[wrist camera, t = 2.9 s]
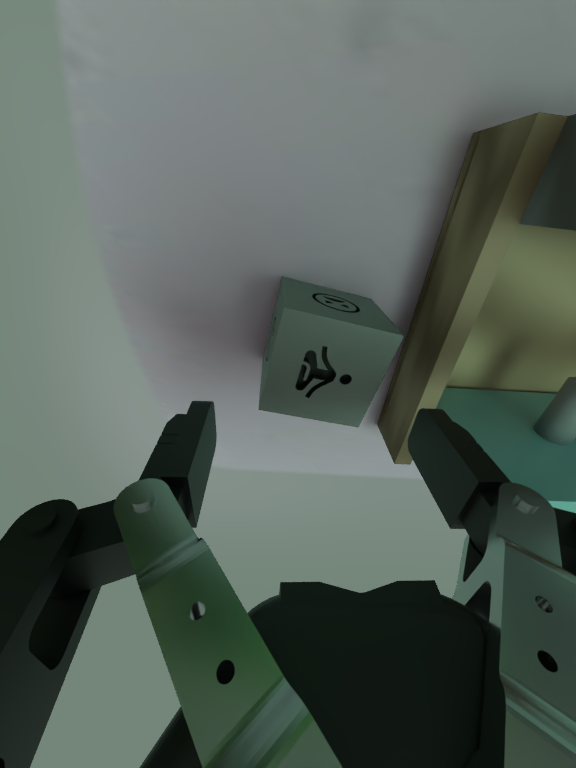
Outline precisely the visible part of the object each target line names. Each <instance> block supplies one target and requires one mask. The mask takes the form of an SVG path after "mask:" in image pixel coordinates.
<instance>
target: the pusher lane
mask: <svg viewBox="0 0 576 768" xmlns="http://www.w3.org/2000/svg"><path fill="white" fill-rule="evenodd" d="M569 377H576V114H575V115H571V116H561V115H554V114H546V113H536V114H532V115H529V116H526V117H523V118H520V119H517V120H514V121H510V122H507V123H504V124H501V125H498V126H495V127H492V128H488V129H485V130H482V131H479V132H476V133H473V136H472V139H471V142H470V145H469V149H468V152H467V155H466V158H465V161H464V164H463V167H462V170H461V173H460V176H459V179H458V182H457V185H456V188H455V191H454V194H453V197H452V200H451V203H450V206H449V209H448V212H447V215H446V218H445V221H444V224H443V227H442V230H441V234H440V237H439V240H438V243H437V246H436V249H435V252H434V255H433V258H432V261H431V264H430V267H429V270H428V273H427V276H426V279H425V282H424V285H423V288H422V291H421V294H420V297H419V300H418V303H417V306H416V309H415V312H414V315H413V319H412V322H411V325H410V328H409V331H408V334H407V337H406V340H405V343H404V346H403V349H402V352H401V355H400V358H399V361H398V364H397V367H396V370H395V373H394V376H393V379H392V382H391V385H390V388H389V391H388V394H387V397H386V400H385V404H384V407H383V410H382V413H381V416H380V419H379V422H378V427H379V430H380V432H381V434H382V436H383V439H384V441H385V443H386V446H387V448H388V450H389V452H390V455H391V457H392V459H393V462H394V464H411V462H412V460H413V459H412V457H411V455H410V453H409V450H408V437H409V434H410V432H411V429H412V426H413V424H414V421H415V418H416V416H417V413H418V411H419V410H420V409H422V408H430V409H436V407H437V404H438V402H439V400H440V398H441V396H442V393H443V391H444V389H445V388H460V389H478V390H496V391H514V392H532V393H550V394H557V393H558V391H559V390H560V388H561V387H562V386H563V384H564V383H565V381H566V380H567V379H568V378H569Z"/></svg>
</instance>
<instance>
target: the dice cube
mask: <svg viewBox="0 0 576 768" xmlns="http://www.w3.org/2000/svg"><path fill="white" fill-rule="evenodd" d="M403 338H404V335H403V334H402V333H401V332H400V331H399V329H398V328H397V327H396V326H395V325H394V324H393V323H392V322H391V321H390V319H389V318H388V317H387V316H386V315H385V314H384V313H383V312H382V311H381V309H380V308H379V307H378V306H377V305H376V304H375V303H374V302H373V301H372V299H369V298H365V297H361V296H357V295H353V294H349V293H345V292H341V291H337V290H334V289H330V288H326V287H322V286H318V285H314V284H310V283H306V282H302V281H298V280H294V279H290V278H287V277H283V276H282V279H281V284H280V288H279V292H278V297H277V301H276V305H275V310H274V314H273V318H272V322H271V327H270V331H269V335H268V340H267V344H266V348H265V353H264V357H263V364H262V376H261V387H260V399H259V410H263V411H269V412H275V413H280V414H286V415H292V416H297V417H303V418H309V419H314V420H320V421H325V422H331V423H337V424H342V425H348V426H354V427H359V425H360V423H361V421H362V419H363V417H364V415H365V413H366V411H367V409H368V407H369V405H370V403H371V401H372V399H373V397H374V395H375V393H376V391H377V389H378V387H379V385H380V383H381V381H382V379H383V377H384V375H385V373H386V371H387V369H388V367H389V365H390V363H391V361H392V359H393V357H394V355H395V353H396V351H397V349H398V347H399V345H400V343H401V342H402V340H403Z"/></svg>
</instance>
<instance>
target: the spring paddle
mask: <svg viewBox="0 0 576 768" xmlns="http://www.w3.org/2000/svg"><path fill="white" fill-rule="evenodd" d="M436 409H443V410H444V411H445V412H446V414H447V415H448V416H449V417H450V418H451V420H452V421H453V422H456V423H457V424H459V425H460V426H462V427H463V428H464V429H466V430H467V431H468V432H469V433H470V434H471V435H472V436H473V438H474V439H475V440H476V443H479V445H480V446H481V447H482V448H483V449H484V452H486V453H487V454H488V455H489V456H490V458H491V459H492V460H493V461H494V462H495V463H496V465H497V466H498V467H499V468H500V469H501V471H502V472H503V473H504V474H505V475H506V476H507V478H508V479H509V480H510V481H511V482H512V483H518V484H521V485H524V486H526V487H529V488H531V489H532V490H534V491H536V492H537V493H539V494H540V495H541V496H543V497H544V498H545V499H546V500H547V501H548V502H549V503H550V504H551V506H552V507H554V508H558V509H562V510H566V511H569V512H573V513H576V377H569V378H568V379H567V380H566V381H565V383H564V384H563V386H562V387H561V388H560V390H559V391H558V393H557V394H550V393H532V392H514V391H496V390H478V389H460V388H445V389H444V391H443V393H442V396H441V398H440V400H439V402H438V404H437V407H436Z"/></svg>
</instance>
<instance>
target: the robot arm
mask: <svg viewBox="0 0 576 768" xmlns="http://www.w3.org/2000/svg"><path fill="white" fill-rule="evenodd" d="M215 447H216V422H215V410H214V403H213V402H212V401H192V402H191V405H190V407H189V410H188V412H187V414H177V415H175V416H174V417H173V418H172V419H171V420H170V421H168V422H167V424H166V426H165V428H164V430H163V432H162V435H161V436H160V438H159V440H158V442H157V445H156V446H155V448H154V450H153V452H152V454H151V456H150V458H149V460H148V462H147V465H146V466H145V469H144V471H143V473H142V475H141V477H140V479H139V480H138V481H137V482H134V483H132V484H131V485H129V486H127V487H126V488H125V489H124V490H122V491H121V493H120V494H119V495H118V497H117V498H116V499H114V500H112V501H109V502H106V503H102V504H98V505H94V506H90V507H86V508H82V509H79V510H78V509H77V507H76V505H75V504H74V503H72V502H71V501H69V500H64V499H58V500H51V501H47V502H44V503H42V504H39V505H37V506H35V507H33V508H31V509H30V510H28V511H27V512H25V513H24V514H23V515H21V516H20V517H19V518H18V519H17V520H16V521H15V522H14V523H13V524H12V526H11V527H10V528H9V530H8V531H7V533H6V534H5V535H4V536H3V538H2V539H1V540H0V768H30V765H31V763H32V760H33V758H34V755H35V753H36V750H37V748H38V745H39V743H40V740H41V737H42V735H43V733H44V730H45V728H46V725H47V722H48V720H49V717H50V715H51V712H52V710H53V707H54V705H55V702H56V700H57V697H58V695H59V692H60V690H61V687H62V685H63V682H64V680H65V677H66V674H67V672H68V669H69V667H70V664H71V662H72V659H73V657H74V654H75V652H76V649H77V647H78V644H79V642H80V639H81V636H82V634H83V631H84V629H85V626H86V624H87V621H88V619H89V616H90V614H91V611H92V608H93V606H94V604H95V601H96V599H97V596H98V593H99V591H100V588H101V586H102V585H105V584H108V583H111V582H114V581H117V580H120V579H123V578H126V577H129V576H131V575H134V574H136V577H137V582H138V585H139V588H140V591H141V594H142V597H143V600H144V602H145V605H146V608H147V611H148V614H149V617H150V619H151V622H152V625H153V628H154V631H155V634H156V637H157V639H158V642H159V645H160V648H161V650H162V654H163V657H164V659H165V662H166V665H167V668H168V671H169V673H170V676H171V679H172V682H173V685H174V688H175V690H176V694H177V696H178V699H179V702H180V705H181V707H180V709H179V710H178V712H177V713H176V714H175V716H174V718H173V719H172V721H171V722H170V723H169V725H168V726H167V728H166V729H165V731H164V732H163V734H162V735H161V737H160V738H159V740H158V741H157V743H156V744H155V746H154V747H153V749H152V750H151V752H150V753H149V754H148V756H147V757H146V759H145V760H144V762H143V763H142V765H141V767H140V768H576V513H573V512H569V511H566V510H562V509H558V508H554V507H552V506H551V504H550V503H549V502H548V501H547V500H546V499H545V498H544V497H543V496H541V495H540V494H539V493H537V492H536V491H534V490H532V489H531V488H529V487H526V486H524V485H521V484H518V483H512V482H511V481H510V480H509V479H508V478H507V476H506V475H505V474H504V473H503V472H502V471H501V469H500V468H499V467H498V466H497V465H496V463H495V462H494V461H493V460H492V459H491V458H490V456H489V455H488V454H487V453H486V452H484V449H483V448H482V447H481V446H480V445H479V443H476V440H475V439H474V438H473V436H472V435H471V434H470V433H469V432H468V431H467V430H466V429H464V428H463V427H462V426H460V425H459V424H457V423H456V422H453V421H452V420H451V418H450V417H449V416H448V415H447V414H446V412H445V411H444V410H443V409H430V408H422V409H420V410H419V411H418V413H417V416H416V418H415V421H414V424H413V426H412V429H411V432H410V434H409V437H408V450H409V453H410V455H411V457H412V459H413V461H414V462H415V464H416V466H417V468H418V470H419V472H420V473H421V475H422V477H423V479H424V481H425V483H426V484H427V486H428V488H429V490H430V492H431V494H432V495H433V497H434V499H435V501H436V503H437V505H438V507H439V508H440V510H441V512H442V514H443V516H444V518H445V520H446V522H447V523H448V525H449V527H450V528H451V529H466V531H467V533H468V535H467V536H466V538H465V540H464V546H463V551H462V557H461V563H460V569H459V575H458V581H457V586H456V590H455V593H454V595H453V597H452V599H451V598H449V597H446V596H444V595H441V594H440V592H439V590H438V587H437V585H436V583H435V581H434V580H432V581H396V582H394V583H390V584H388V585H385V586H382V587H379V588H376V589H373V590H371V591H368V592H365V593H358V592H354V591H350V590H347V589H343V588H339V587H336V586H332V585H329V584H325V583H322V582H281V583H280V592H279V595H277V596H274V597H271V598H269V599H267V600H265V601H263V602H261V603H260V604H258V605H257V606H255V607H254V608H253V609H251V610H250V611H249V612H248V613H247V612H246V610H245V609H244V607H243V605H242V603H241V602H240V600H239V598H238V596H237V595H236V593H235V591H234V590H233V588H232V586H231V584H230V583H229V581H228V579H227V577H226V576H225V574H224V572H223V571H222V569H221V567H220V565H219V564H218V562H217V560H216V558H215V557H214V555H213V553H212V552H211V550H210V548H209V546H208V545H207V543H206V542H205V541H204V540H203V539H202V538H200V539H199V538H198V537H197V536H196V534H195V532H194V530H193V529H192V528H196V527H197V522H198V518H199V514H200V510H201V506H202V501H203V498H204V493H205V489H206V485H207V481H208V477H209V473H210V468H211V464H212V460H213V456H214V452H215Z"/></svg>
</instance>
